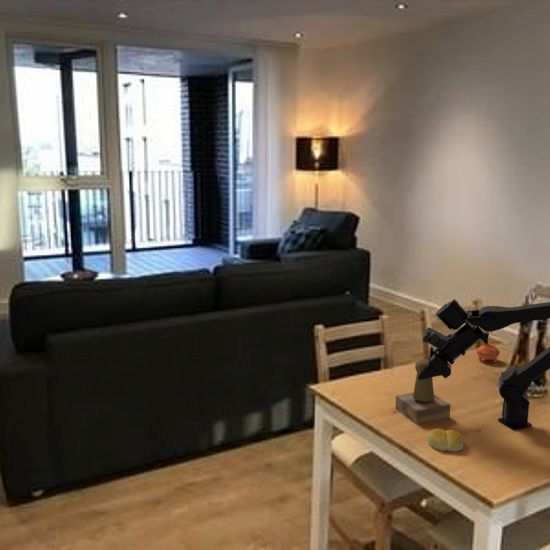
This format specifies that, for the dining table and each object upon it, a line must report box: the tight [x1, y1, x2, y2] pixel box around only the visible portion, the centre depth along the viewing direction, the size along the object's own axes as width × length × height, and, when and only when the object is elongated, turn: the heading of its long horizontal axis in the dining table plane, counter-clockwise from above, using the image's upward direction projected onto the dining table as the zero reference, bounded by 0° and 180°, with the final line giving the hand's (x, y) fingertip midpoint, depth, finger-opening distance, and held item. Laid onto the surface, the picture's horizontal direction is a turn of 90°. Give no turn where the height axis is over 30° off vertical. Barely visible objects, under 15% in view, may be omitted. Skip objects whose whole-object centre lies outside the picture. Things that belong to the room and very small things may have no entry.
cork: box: [412, 359, 435, 402], centre depth 170 cm, size 6×6×11 cm
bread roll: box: [427, 428, 464, 453], centre depth 153 cm, size 8×9×4 cm
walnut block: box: [395, 392, 451, 425], centre depth 172 cm, size 11×11×4 cm
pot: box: [476, 343, 501, 364], centre depth 214 cm, size 8×8×7 cm
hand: (419, 375), depth 170 cm, fingers closed on cork, 5 cm apart
